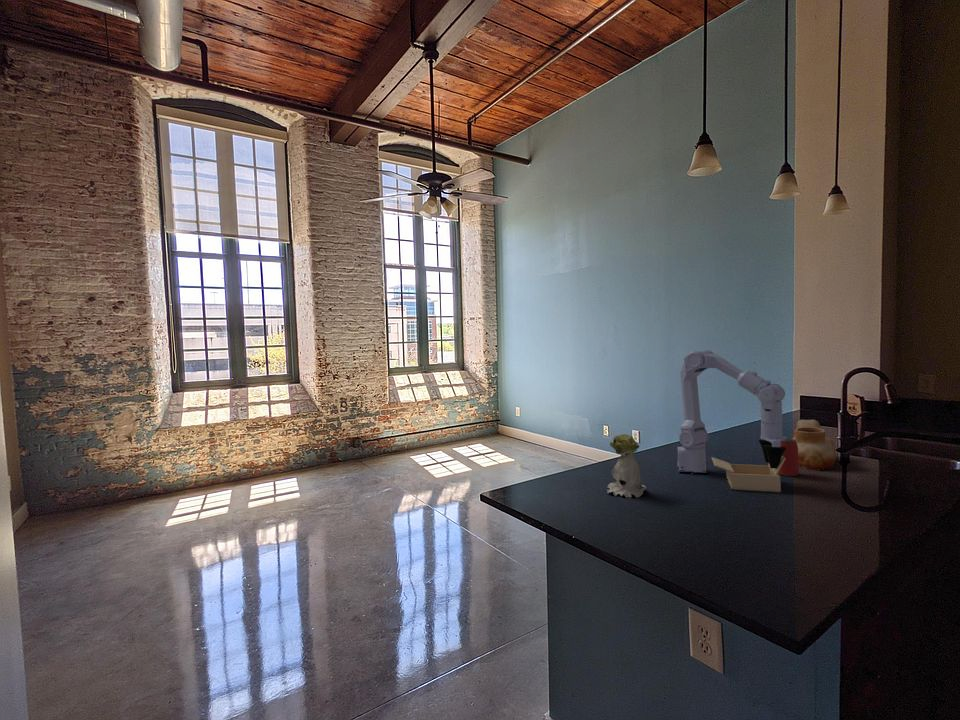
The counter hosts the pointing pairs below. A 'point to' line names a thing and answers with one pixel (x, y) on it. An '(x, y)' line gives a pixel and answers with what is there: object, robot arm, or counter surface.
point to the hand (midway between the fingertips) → (771, 465)
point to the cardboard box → (753, 478)
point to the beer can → (790, 458)
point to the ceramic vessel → (813, 445)
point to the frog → (626, 468)
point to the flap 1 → (722, 464)
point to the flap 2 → (778, 466)
